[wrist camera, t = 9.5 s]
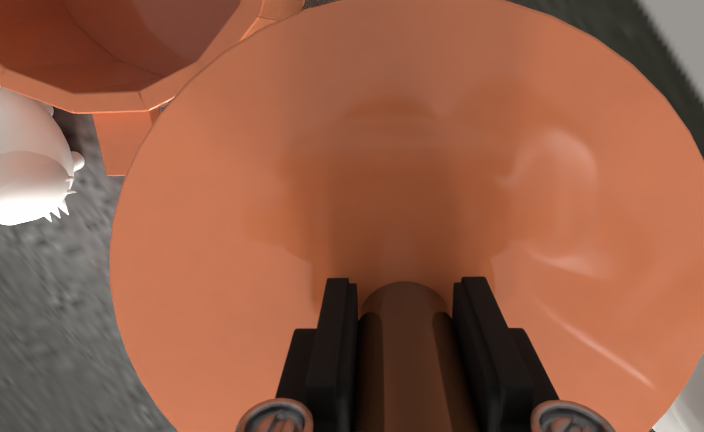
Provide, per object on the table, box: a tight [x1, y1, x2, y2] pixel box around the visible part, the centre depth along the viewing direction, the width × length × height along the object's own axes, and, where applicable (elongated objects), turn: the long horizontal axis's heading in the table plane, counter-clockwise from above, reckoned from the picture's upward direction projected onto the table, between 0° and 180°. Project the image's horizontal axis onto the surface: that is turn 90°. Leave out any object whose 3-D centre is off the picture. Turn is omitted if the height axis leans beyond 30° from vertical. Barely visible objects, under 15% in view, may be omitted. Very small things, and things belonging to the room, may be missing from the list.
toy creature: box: [0, 86, 84, 225], centre depth 24 cm, size 5×8×6 cm, turn 22°
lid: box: [109, 0, 704, 432], centre depth 10 cm, size 16×16×6 cm
